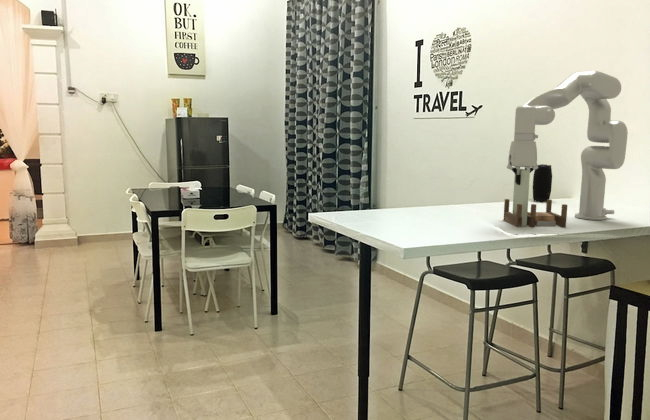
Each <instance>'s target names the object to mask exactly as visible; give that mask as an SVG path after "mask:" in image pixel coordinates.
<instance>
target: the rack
mask: <svg viewBox="0 0 650 420" xmlns="http://www.w3.org/2000/svg"><path fill="white" fill-rule="evenodd" d="M552 203H553V200H552V199H550V198H549V199H547V201H546V206H545V212H546V213H549V214H551V215H554V216H555V219H554V221H556V225H555V226H558V227H560V228H567V217H568V216H567V215H568V213H567V212H568V204H561V213H560V214H558V213H555V212H552ZM503 206H504V207H503V221H505V222H507V223H508V224H510V225H512V226H514V227H516V228H521V227H522V226H521V217H522V204H517V213H516V215H515V214H513V212H510V198H509V199H508V198H504V205H503ZM530 212H531V214H530V215H529V214H527V226H528V227H530V228H536V225H535V220H536V212H537V204H535V203H531V204H530Z"/></svg>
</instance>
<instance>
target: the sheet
mask: <svg viewBox="0 0 650 420" xmlns="http://www.w3.org/2000/svg"><path fill="white" fill-rule="evenodd" d="M520 175H521V180H520V185H517V184H516V182H515V176H516V174H515V173H514V180H513V197H512V198H513V201H512V213H513V214H515V215H516V213H517V204H522V217H521V227H527V226H528V225H527V213H528V212H529V210H528V209H529V196H530V195H529V194H530V191H529V190H530V177H531V176H530V175H531V173H530V171H529V170H525V168H524V169H523V168H520Z"/></svg>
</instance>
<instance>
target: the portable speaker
mask: <svg viewBox="0 0 650 420" xmlns="http://www.w3.org/2000/svg"><path fill="white" fill-rule="evenodd" d="M537 165H538V169H536V170H533V171H534V172H533V179H532V199H533V202H534V201H535V202H537V203H544V202H547V199H550V196H551V192H552V187H553V186H552V184H553V171H552V169H553V168H552V165H551V164H543V163H542V164H537Z"/></svg>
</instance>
